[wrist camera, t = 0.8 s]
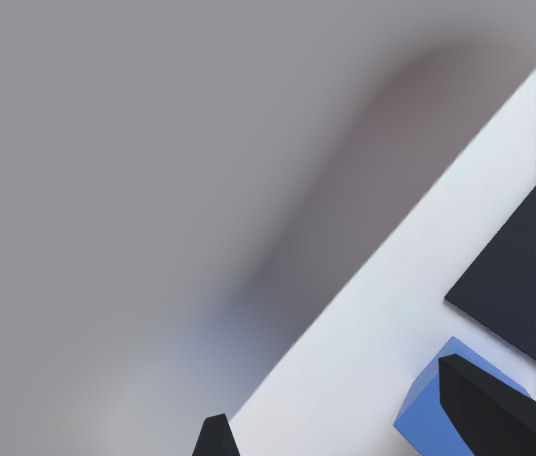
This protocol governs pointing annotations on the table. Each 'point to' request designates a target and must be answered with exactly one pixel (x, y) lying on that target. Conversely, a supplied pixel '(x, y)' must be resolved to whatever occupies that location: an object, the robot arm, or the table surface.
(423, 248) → the table surface
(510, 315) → the desk mat
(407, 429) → the blue block
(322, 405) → the table surface
